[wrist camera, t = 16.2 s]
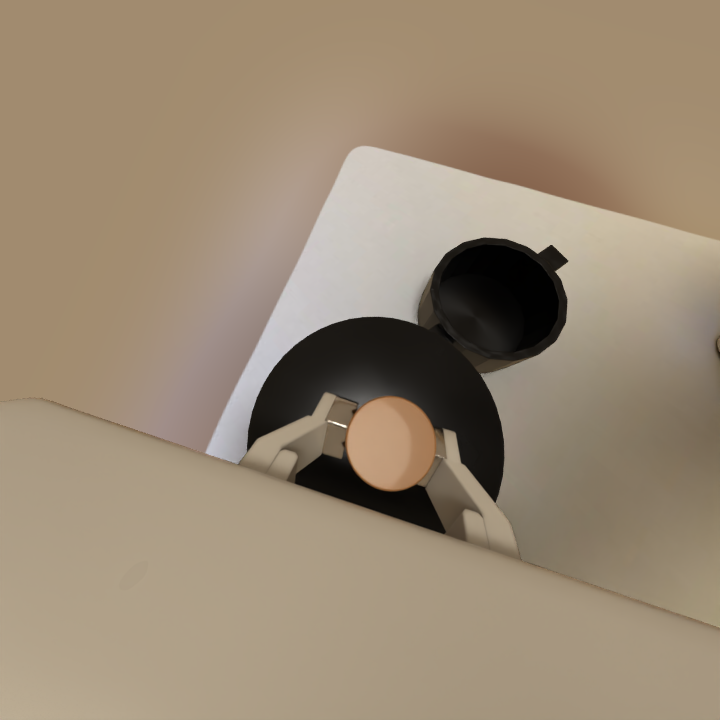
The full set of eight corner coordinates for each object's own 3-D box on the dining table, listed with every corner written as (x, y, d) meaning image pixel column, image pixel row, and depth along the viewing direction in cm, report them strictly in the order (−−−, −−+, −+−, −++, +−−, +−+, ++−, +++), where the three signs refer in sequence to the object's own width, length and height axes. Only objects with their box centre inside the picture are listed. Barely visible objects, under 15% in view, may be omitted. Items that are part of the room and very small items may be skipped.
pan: (377, 319, 29) (381, 294, 24) (493, 242, 32) (520, 205, 26) (448, 411, 26) (471, 407, 21) (568, 318, 29) (615, 294, 24)
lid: (213, 404, 15) (71, 383, 8) (397, 287, 17) (426, 178, 10) (342, 639, 12) (318, 970, 5) (543, 464, 14) (745, 506, 7)
